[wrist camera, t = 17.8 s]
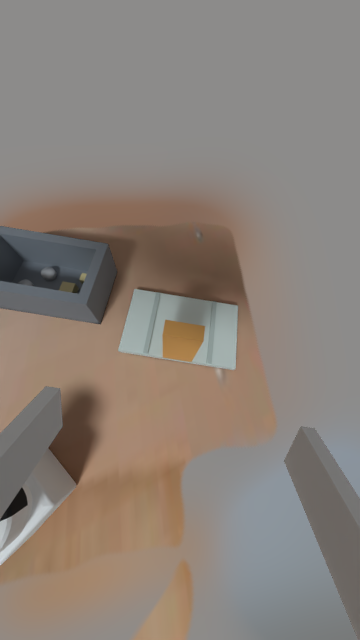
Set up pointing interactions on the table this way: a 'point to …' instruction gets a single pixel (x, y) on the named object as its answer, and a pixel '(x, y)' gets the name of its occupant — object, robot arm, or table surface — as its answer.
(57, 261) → the tub
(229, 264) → the table surface
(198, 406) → the table surface
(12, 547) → the medicine bottle
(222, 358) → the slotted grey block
